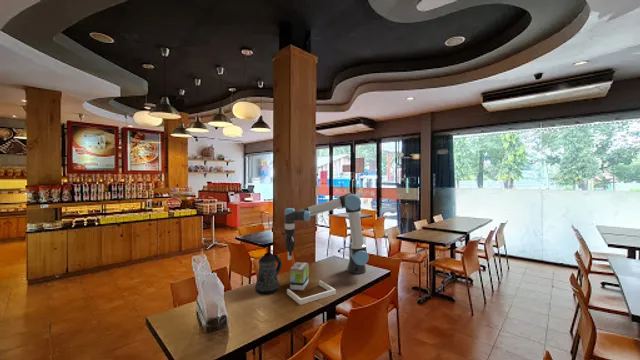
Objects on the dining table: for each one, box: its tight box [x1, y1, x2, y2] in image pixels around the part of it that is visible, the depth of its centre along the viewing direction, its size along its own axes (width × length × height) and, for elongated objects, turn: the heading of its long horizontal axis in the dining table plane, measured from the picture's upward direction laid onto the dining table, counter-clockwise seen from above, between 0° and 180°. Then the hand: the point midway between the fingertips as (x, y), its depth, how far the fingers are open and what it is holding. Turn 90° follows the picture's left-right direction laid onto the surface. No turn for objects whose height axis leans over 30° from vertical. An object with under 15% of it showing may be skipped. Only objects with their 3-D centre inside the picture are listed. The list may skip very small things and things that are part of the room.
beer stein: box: [254, 252, 283, 296], centre depth 188 cm, size 16×19×25 cm
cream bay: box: [286, 280, 337, 306], centre depth 180 cm, size 27×18×3 cm
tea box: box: [289, 261, 310, 291], centre depth 193 cm, size 15×10×15 cm
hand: (289, 259), depth 206 cm, fingers closed
